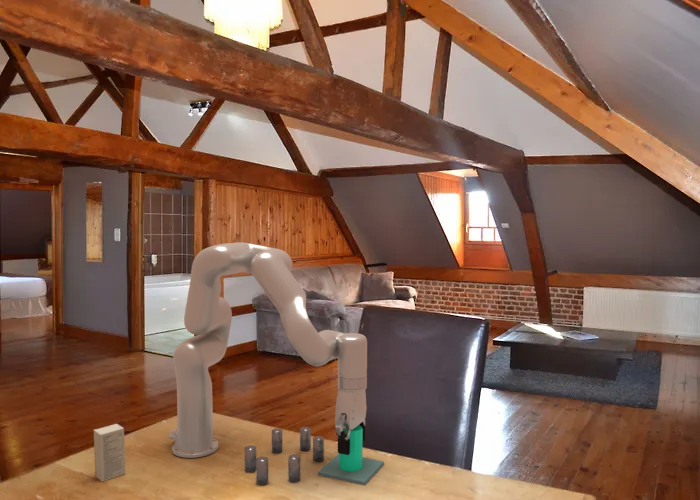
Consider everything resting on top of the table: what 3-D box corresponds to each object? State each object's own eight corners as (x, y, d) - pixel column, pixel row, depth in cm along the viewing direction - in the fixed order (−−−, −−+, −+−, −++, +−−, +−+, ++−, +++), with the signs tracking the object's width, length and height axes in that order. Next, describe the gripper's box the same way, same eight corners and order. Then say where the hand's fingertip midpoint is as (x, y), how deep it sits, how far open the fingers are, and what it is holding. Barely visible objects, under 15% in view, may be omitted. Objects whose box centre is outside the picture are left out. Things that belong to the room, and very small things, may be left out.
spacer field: (231, 478, 145) (231, 455, 145) (283, 442, 168) (283, 422, 168) (287, 491, 139) (287, 467, 138) (333, 452, 161) (333, 431, 161)
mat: (317, 475, 148) (317, 471, 148) (339, 455, 159) (339, 452, 159) (364, 485, 142) (364, 482, 142) (383, 464, 154) (384, 461, 154)
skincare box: (118, 468, 151) (117, 423, 150) (126, 474, 147) (125, 427, 147) (93, 476, 146) (92, 429, 145) (100, 482, 143) (99, 434, 142)
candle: (360, 472, 147) (360, 426, 147) (337, 470, 149) (337, 424, 148) (364, 462, 153) (364, 418, 152) (342, 460, 154) (342, 416, 154)
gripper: (352, 371, 159) (352, 432, 160) (324, 389, 143) (323, 456, 144) (378, 375, 156) (377, 437, 157) (351, 393, 140) (351, 462, 141)
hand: (351, 446), depth 150 cm, fingers open, 9 cm apart
